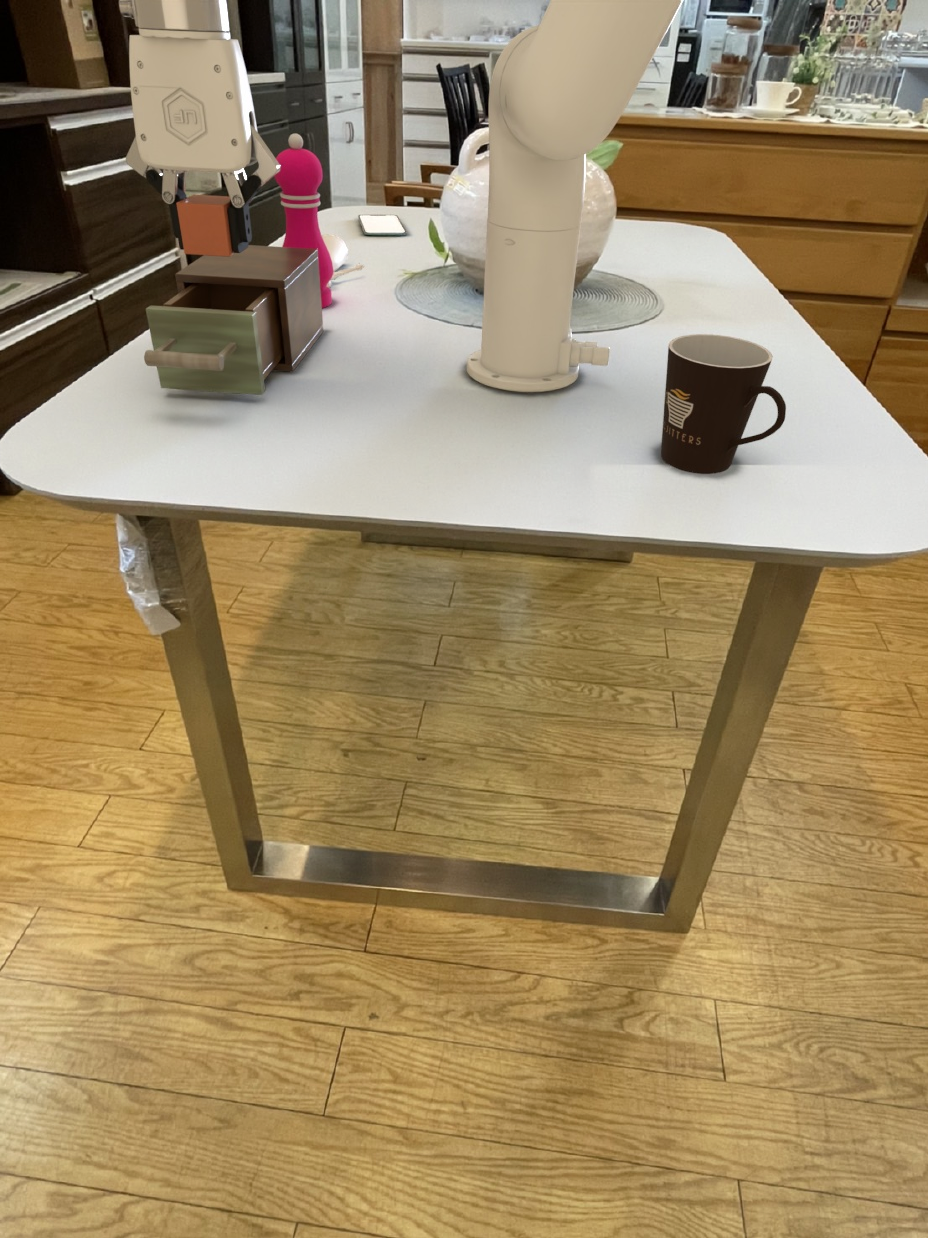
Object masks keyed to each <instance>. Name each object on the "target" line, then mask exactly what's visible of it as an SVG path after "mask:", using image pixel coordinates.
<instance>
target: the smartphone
mask: <svg viewBox="0 0 928 1238" xmlns="http://www.w3.org/2000/svg"><path fill="white" fill-rule="evenodd" d="M357 218H358V221H359V223H360V226H361V229H362V231H363V234H364V235H365V236H405V235H407V230H406V228H405V227H404V225H403V222H402V221H401V219H400V217H399V215H396V214H358V216H357Z"/></svg>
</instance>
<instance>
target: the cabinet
mask: <svg viewBox="0 0 928 1238" xmlns="http://www.w3.org/2000/svg"><path fill="white" fill-rule="evenodd" d="M174 276H175V281H176V282H175V283H176V289H177V294H179V293H180V292H181V291H183V290H184V289H186V288H187V287H188V286H190V285H191V284H193V283H203V284H220V285H236V286H253V287H269V288H278V296H279V306H280V316H281V326H282V336H283V346H284V356H283V357H282V359H281V360H280V361H279V362H278V363H277V365H276V366H275V367H274V368H273V370H272V371H275V372H276V371H277V372H291V373H292V372H294V371H295V369H296V368H297V367H298V366H299V364H300V363H301V362H302V360H303V359H304V358H305V356H306V355H307V354H308V353H309V352H310V350H311V349H312V347H313V346H314V344H315V343H316V342H317V340H318V339H319V338H320V337H321V335H322V334H323V332H324V321H323V308H322V304H321V290H320V276H319V261H318V249H308V248H290V247H282V246H271V245H257V244H256V245H254V244H248V248H247V249H245V250H244V251H242V252H241V253H234V254H233V255H231V256H230V257H224V256H208V255H201V256H200V257H199V258H197V259H196V260H194V261H193V262H191V263H189V264H188V265H187V266H185V267H184V268H182V269H180V270H179V271H178V272H176V273H175V274H174Z"/></svg>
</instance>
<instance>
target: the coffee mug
mask: <svg viewBox="0 0 928 1238" xmlns="http://www.w3.org/2000/svg"><path fill="white" fill-rule="evenodd" d="M667 348H668V350H667V362H666V376H665V390H664V403H663V416H662V418H663V419H662V431H661V433H662V434H661V444H660V445H661V447H660V457H661V459H662V460H663V462H665V464H667V465H669V466H670V467H672V468H674V469H677V470H679V471H683V472H687V473H691V474H698V475H713V474H714V475H716V474H720V473H723V472H726V471H727V470H729V469H730V467H731V465H732V463H733V461H734V457H735V455H736V453H737V450H738V447H739V446H741V445H742V446H743V445H747V444H750V443H754V442H758V441H762V440H764V439H766V438H768V437H770V436H772V435H774V434H775V433H776V432H778V430H780V428H781V427H782V426H783V424H784V422H785V421H786V415H787V414H786V412H787V405H786V401H785V399H784V397H783V395H782V394H781V393H780V392H779V391H778V390H777V389H776V388H774V387H772V386H769V385H763V384H764V382H765V378H766V376H767V373H768V371H769V368H770V366H771V364H772V361H773V354H772V352H771V351H770V350H769V349H767V348H766V347H764V346H762V345H760V344H758V343H756V342H752V341H751V340H750V341H749V340H747V339H744V338H743V339H742V338H738V337H734V336H729V335H721V334H705V333H700V334H697V333H696V334H687V335H686V334H685V335H682V336H678V337H675V338H673V339H672V340H670V341H669V343H668V347H667ZM760 394H766V395H768V396H769V397H771V398H772V400H773V401H774V403H775V405H776V409H777V416H776V420H775V422H774V423H773V425H772V426H770V427H769V428H768V429H766V430H765V431H763V432H761V433H758V434H754V435H751V436H747V437H743V434H744V432H745V430H746V427H747V424H748V422H749V419H750V417H751V414H752V412H753V410H754V407H755V404H756V403H757V399H758V396H759V395H760Z"/></svg>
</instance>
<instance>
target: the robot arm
mask: <svg viewBox="0 0 928 1238" xmlns="http://www.w3.org/2000/svg"><path fill="white" fill-rule="evenodd" d="M683 2H684V0H550V1H549V3H548V5H547V7H546V9H545V12H544V14H543V17H542V19H541V21H540V23H539V24H538V25H535V26H532V27H529V28H526V29H524V30H523V31H521V32H519V33H518V34H516V35H515V36H514V37H513V38H511V40H510V41H509V42H508V43H507V44H506V45H505V47H504V48H503V49H502V51H501V53H500V55H499V56H498V58H497V60H496V63H495V65H494V67H493V70H492V76H491V79H490V84H489V90H488V91H489V93H488V153H489V154H488V155H489V156H488V157H489V159H488V160H489V165H488V166H489V169H488V173H489V174H488V197H487V198H488V199H487V200H488V201H487V202H488V203H487V219H486V235H485V236H486V238H485V259H484V280H483V299H482V300H483V301H482V302H483V303H482V320H481V321H482V323H481V343H480V344H481V346H480V349H478V350H476V351H474V352H473V353H471V354H470V355H469V356H468V357H467V358H466V373H467V374H468V375H469V376H470V377H471V378H472V379H473V380H474V381H476V382H479V383H480V384H482V385H485V386H486V387H487V386H488V387H490V388H494V389H498V390H504V391H509V392H510V391H511V392H519V393H541V392H542V393H543V392H550V391H555V390H556V391H557V390H559V389H563V388H566V387H568V386H570V385H571V384H573V383H575V382H576V380H578V377H579V370H580V369H579V368H580V367H579V364H589V365H591V366H603V367H608V365H609V359H610V347H606V346H598V342H596V341H577V338H573V337H572V336H573V335H572V327H571V326H570V325H571V319H572V318H571V316H572V308H573V307H572V306H573V297H574V289H575V282H576V281H575V280H576V271H577V262H578V253H579V246H580V245H579V244H580V237H581V226H582V221H583V213H584V212H583V211H584V203H585V202H584V201H585V190H586V163H587V162H586V161H587V159H586V158H587V157H586V155H587V154H589V153H591V152H592V151H594V150H596V149H597V147H599V146H600V144H601V143H603V142H604V140H605V139H606V138H607V137H608V136H609V134H610V133H611V132H612V131H613V129H614V127H616V124H617V123H618V121H619V120H620V118H621V117H622V115H623V113H624V111H625V109H626V108H627V106H628V105H629V103H630V101H631V99H632V98H633V95H634V94H635V92H636V89H638V86H639V84H640V82H641V80H642V79H643V77H644V75H645V73H646V72H647V70H648V68H649V66H650V63H651V62H652V61H653V58H654V57H655V55H656V52H657V51H658V49H659V48H660V45H661V44H662V41H663V40H664V38H665V36H666V35H667V32H668V31H669V29H670V27H671V24H672V23H673V21H674V19H675V17H676V16H677V14H678V12H679V9H680V8H681V5H682V3H683ZM118 7H119V11H120V14H121V15H122V16H123V17H125V18H130V19H132V20H134V24H135V27H138V33H139V34H130V35H129V42H128V43H129V44H128V45H129V46H128V47H129V48H128V49H129V53H128V54H129V56H128V57H129V61H128V62H129V81H130V85H129V86H130V97H131V105H132V107H131V108H132V116H133V124H134V125H133V126H134V132H135V133H134V134H135V136H134V139H133V141H132V142H131V145H130V146H129V147H130V148H129V149H128V152H127V154H126V156H125V162H126V164H127V166H129V167H130V168H131V169H132V170H133V171H135V172H137V174H139V175H140V176H142V177H143V178H145V179H146V181H147V182H148V183H149V184H150V185H151V186H152V187H153V189H155V190H156V191H157V192H158V193H159V194H160V195H161V196H162V197H161V198H162V200H163V202H164V203H166V204H168V208H169V213H170V220H171V226H172V232H173V237H174V238H175V239H177V241H178V247H179V249H180V250H181V251H184V247H183V241H182V235H181V229H180V222H179V216H178V210H177V204H176V203H177V202H179V201H181V200H183V199H185V198H188V197H187V194H186V191H187V190H186V187H187V172H205V173H221V176H222V178H223V181H224V184H225V187H226V190H227V194H228V197H230V204H231V207H229V208H228V209H227V214H228V222H229V230H230V238H231V246H232V251H234V253H241V252H242V251H244V250H245V249H247V248H248V245H249V243H251V242H252V238H253V233H252V224H251V217H250V216H251V215H250V208H249V206H250V205H249V204H250V203H251V202H252V201H253V199H254V197H256V196H257V194H258V193H259V191H260V190H261V189H262V188H263V187H264V185H266V183H268V182H269V181H270V180H272V178H275V177H274V176H275V175H276V174H277V173H278V172H279V171H280V164H279V163H278V161H277V160H276V158H277V157H275V155H274V154H273V152H272V151H271V150H270V148H269V147H268V145H267V144H266V143H265V141H264V140H263V138H262V137H261V135H260V134H259V131H258V126H257V119H256V113H255V106H254V102H253V101H254V100H253V96H252V90H251V86H250V82H249V76H248V73H247V68H246V63H245V60H244V57H243V52H242V49H241V47H240V43H239V39H236V38H231V32H230V31H231V29H230V19H229V9H228V0H118ZM257 163H258V167H257V169H256V170H255V171H254V172H253V173H251V174H250V175H249V176H248V177H247V174H246V171H245V168H246V167H251V166H253V165H254V164H257Z"/></svg>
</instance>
